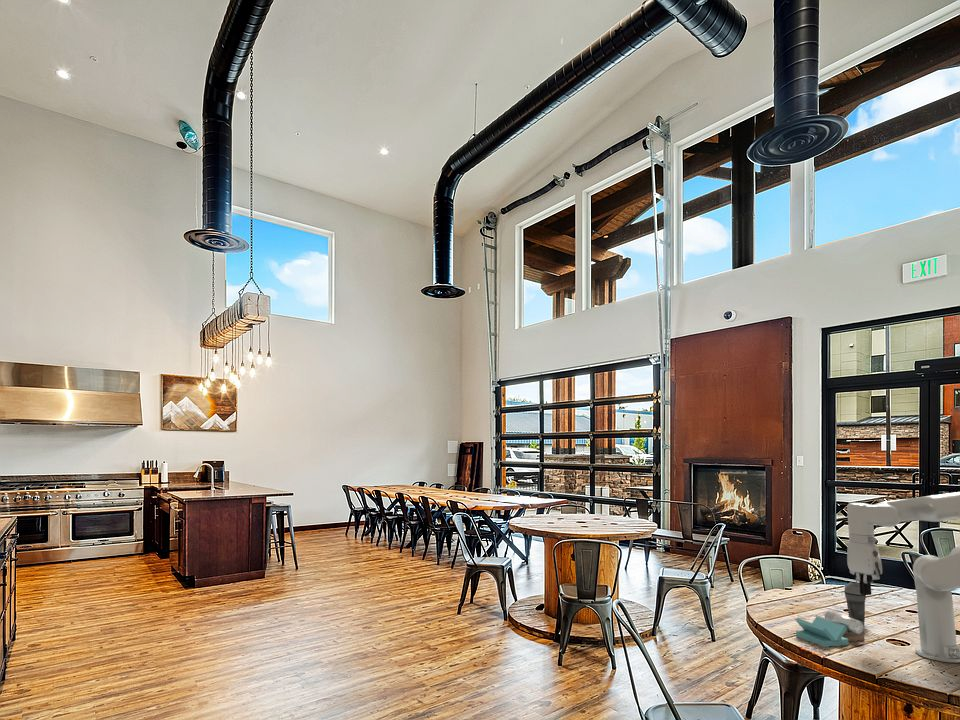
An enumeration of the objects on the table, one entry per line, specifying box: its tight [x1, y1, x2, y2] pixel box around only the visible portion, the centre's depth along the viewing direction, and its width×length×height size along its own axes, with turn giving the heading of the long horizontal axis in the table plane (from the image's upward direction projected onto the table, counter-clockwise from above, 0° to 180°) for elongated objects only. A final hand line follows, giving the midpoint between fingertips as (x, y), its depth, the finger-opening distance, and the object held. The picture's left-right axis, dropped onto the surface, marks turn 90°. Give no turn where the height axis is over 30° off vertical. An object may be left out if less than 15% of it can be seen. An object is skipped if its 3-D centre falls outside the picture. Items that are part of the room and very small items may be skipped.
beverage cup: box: [843, 577, 867, 627], centre depth 228 cm, size 7×7×20 cm
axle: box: [824, 610, 864, 634], centre depth 212 cm, size 12×4×4 cm, turn 16°
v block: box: [795, 616, 850, 648], centre depth 208 cm, size 12×10×6 cm
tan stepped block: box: [842, 629, 865, 643], centre depth 213 cm, size 10×9×4 cm
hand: (865, 594), depth 204 cm, fingers closed
